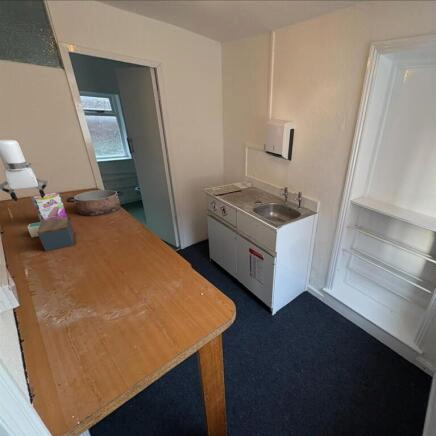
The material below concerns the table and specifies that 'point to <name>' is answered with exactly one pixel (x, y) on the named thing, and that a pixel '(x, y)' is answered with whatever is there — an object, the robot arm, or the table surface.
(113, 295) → the table surface
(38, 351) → the table surface
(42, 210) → the candy bar box
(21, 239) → the table surface
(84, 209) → the cooking pot
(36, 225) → the cube
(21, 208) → the table surface
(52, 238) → the grey box shape
